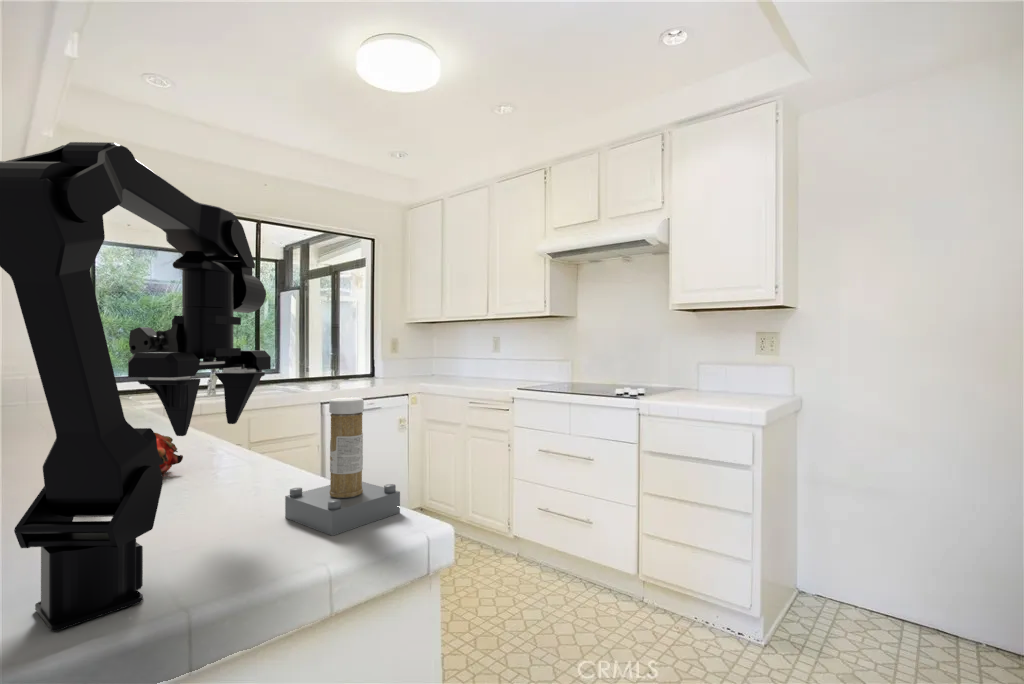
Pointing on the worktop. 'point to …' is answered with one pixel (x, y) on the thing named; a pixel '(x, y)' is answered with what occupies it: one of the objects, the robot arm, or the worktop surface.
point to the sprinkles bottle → (346, 447)
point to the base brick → (341, 507)
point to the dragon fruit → (167, 452)
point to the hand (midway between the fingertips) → (208, 429)
